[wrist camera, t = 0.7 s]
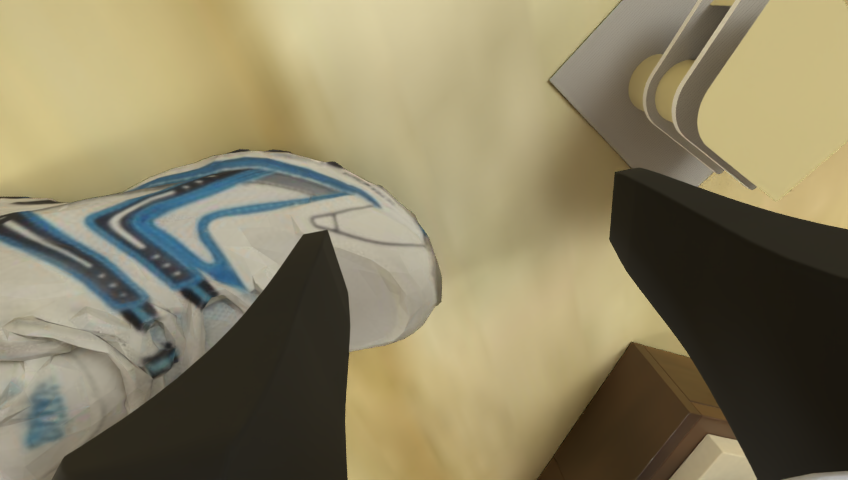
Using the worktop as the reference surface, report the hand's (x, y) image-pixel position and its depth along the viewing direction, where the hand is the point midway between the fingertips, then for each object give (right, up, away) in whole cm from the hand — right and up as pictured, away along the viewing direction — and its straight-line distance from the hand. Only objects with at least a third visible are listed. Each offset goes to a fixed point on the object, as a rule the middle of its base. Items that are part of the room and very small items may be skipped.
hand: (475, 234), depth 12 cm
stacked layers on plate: (+11, +7, +10) cm, 17 cm away
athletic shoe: (-13, -1, +11) cm, 17 cm away
